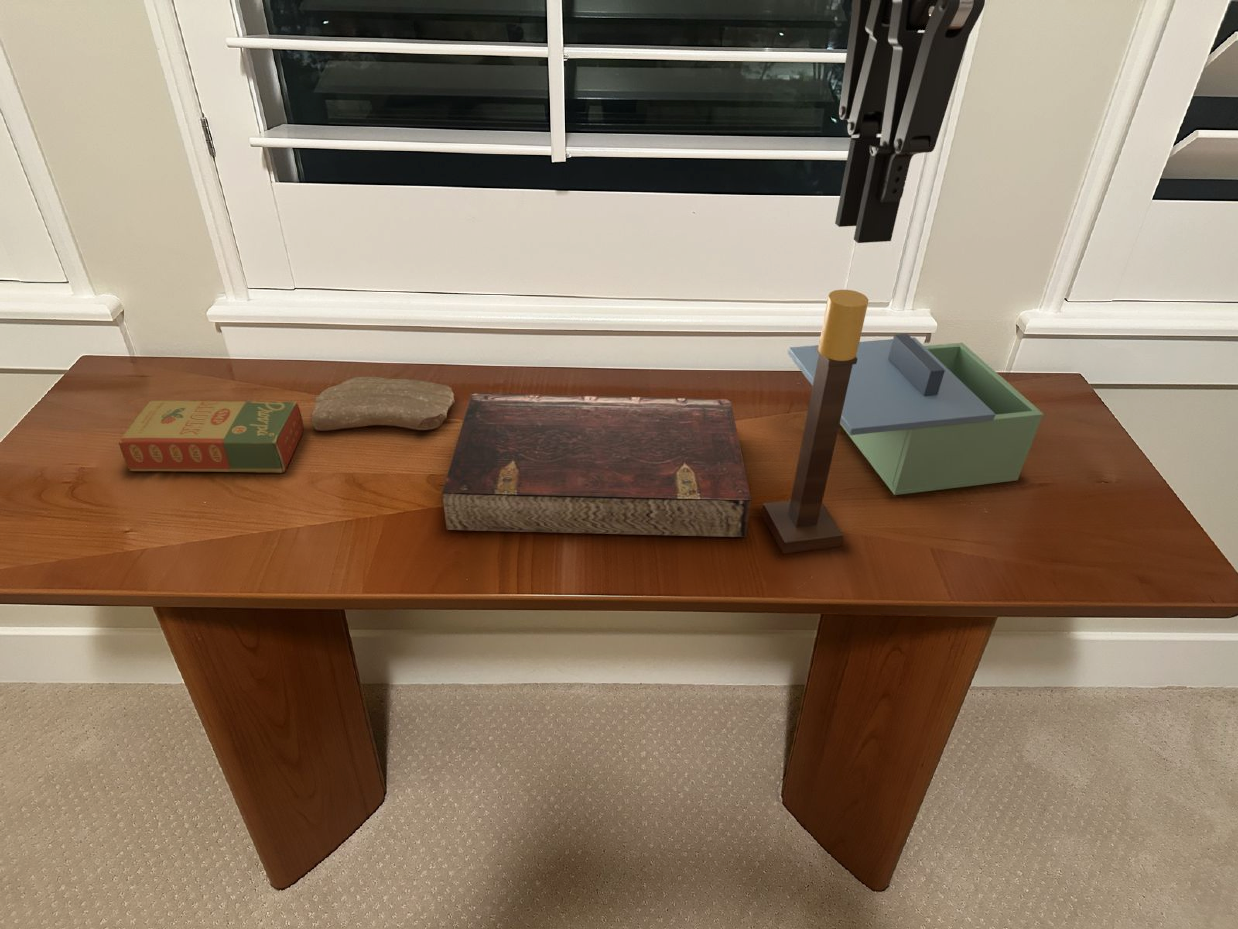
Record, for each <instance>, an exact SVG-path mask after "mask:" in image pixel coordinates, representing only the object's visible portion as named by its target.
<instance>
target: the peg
mask: <svg viewBox="0 0 1238 929" xmlns="http://www.w3.org/2000/svg"><path fill="white" fill-rule="evenodd" d="M826 302H827V303H826V306H825V311H824V315H823V322H822V328H821V332H820V338H819V342H818V345H819V347H818V350H819V353H820V354H821V355H823V356H824V357H826V358H828V359H832V360H836V361H847V360H851V359H853V358H855V357H856V355H857V350H858V346H859V342H861V336H862V332H863V328H864V323H865V318H866V314H867V310H868V305H869V298H868V296H866V295H865V294H863V293H862V292H859V291H856V290H852V289H837V290H833V291H830V292H829V293H828V296H827V301H826Z"/></svg>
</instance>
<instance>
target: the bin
mask: <svg viewBox="0 0 1238 929" xmlns="http://www.w3.org/2000/svg"><path fill="white" fill-rule="evenodd" d="M923 346H924V347H925V348H927V349H928V350H929V351H930V352H931V353H932V354H933V355H934V356H935V357H936V358H937V359H938V360H939V361H940V362H941V363H942V364H943V365H944V366H945V367H946V368H948V369H949V370H950V371H951V372H952V373H953V374H954V375H955V376H956V377H957V378H958V379H959V380H960V381H961V382H962V383H963V384H964V385H965V386H966V387H967V388H969V389H970V390H971V391H972V392H973V393H974V394H975V395H976V396H977V397H978V398H979V399H980V400H981V401H982V402H983V403H984V404H985V405H986V406H987V407H988V408H990V409H991V410H992V411H993V412H994V413H995V417H994V420H992V421H983V422H973V423H963V424H954V425H944V426H934V427H925V428H915V429H905V430H896V431H886V432H876V433H866V434H857V435H850V434H849V433H848V432H847V430H846V429H845V428H844V426H843V425H842V424H841V422H840V424H839V426H841V427H842V429H843V430H844V431H845V432H846V434H847V435H848V437H849V438H850V439H851V440H852V442H853V443H854V444H855V446H856V447H857V448H858V450H859V451H860V452H861V454H862V455H863V456H864V457H865V458H866V460H867V461H868V463H869V464H870V465H871V467H872V468H873V469H874V471H875V472H876V473H877V474H878V475H879V477H880V479H881V480H882V481H883V482H884V483H885V485H886V486H887V487H888V489H889V490H890V492H891V493H892V494H893V495H894V496H899V495H907V494H915V493H924V492H933V491H940V490H941V491H942V490H950V489H956V488H957V489H958V488H965V487H974V486H982V485H992V484H998V483H1007V482H1014V481H1018V480H1019V478H1020V475H1021V472H1022V470H1023V467H1024V465H1025V462H1026V459H1027V457H1028V454H1029V452H1030V449H1031V447H1032V445H1033V442H1034V439H1035V437H1036V435H1037V432H1038V429H1039V426H1040V424H1041V421H1042V420H1043V418H1044V417H1043V416H1044V413H1043V411H1040V409H1039V408H1037V407H1036V406H1035V405H1034V404H1033V403H1032V402H1031V401H1030V400H1029V399H1028V398H1026V397H1025V396H1024V395H1023V394H1022V393H1021V392H1019V391H1018V390H1017V389H1016V388H1015V387H1014V386H1013V385H1012V384H1010V382H1008V381H1007V380H1006V379H1005V378H1003V377H1002V376H1001V375H1000V374H999V373H998V372H997V371H995V370H994V369H993V368H992V367H991V366H990V365H989V364H988V363H986V362H985V361H984V360H983V359H982V358H980V357H979V355H977V354H976V353H975V352H974V351H972V350H971V348H969V347H968V346H967V345H966V344H965V343H963V342H954V343H942V344H931V345H929V344H927V345H923Z"/></svg>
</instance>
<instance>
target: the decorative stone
mask: <svg viewBox="0 0 1238 929" xmlns="http://www.w3.org/2000/svg"><path fill="white" fill-rule="evenodd" d="M454 394H455V393H454V392H453V390H452V387H451V386H449V385H446V384H442V383H437V382H431V381H425V380H416V379H411V378H403V379H400V378H394V379H393V378H383V377H379V376H356V377H352V378H350V379H348V380H344V381H343V382H341V383H339V384H337V385H334V386H330V387H328V388H325V389H324V390H323V391H322V392H320V394H319V395H318V396H317V397H315V405H314V409H313V411H312V412H311V419H310V420H311V423H312V426H313V428H314V430H316V431H319V432H320V431H324V432H325V431H335V430H336V431H337V430H341V429H343V430H344V429H352V428H353V429H354V428H360V427H361V428H362V427H368V426H389V427H390V426H391V427H392V426H393V427H400V428H406V429H410V430H417V431H429V430H434V429H438V428H439V427H441V425H443V423H444V421H445V420H446V419H447V417H448V411H449V410H450V409H451V407H452V406H453V405H454V404H455V395H454Z"/></svg>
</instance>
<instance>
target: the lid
mask: <svg viewBox="0 0 1238 929" xmlns="http://www.w3.org/2000/svg"><path fill="white" fill-rule="evenodd" d="M817 346H819V344H818V345H815V344H814V345H804V346H803V345H802V346H791V347H788V350H787V355H788V356H789V357H790V359H791V360H792V361H793V363H794V364H795V365H796V367H797V368H798V369H799V370H800V372H801V373H802V375H804V377H805V378H806V380H807V381H808V382H809V383H810V385H811V386H812V387H813V382H814V377H815V372H816V367H817V361H818V356H819V355H818V354H817V353H816V350H817ZM924 346H925V345H924V344H923V343H921V342H920V340H918V339H917V338H916V337H911V336H910V335H909V334H908V333H899V334H894V335H893V338H890V339H879V340H865V341H859V346H858V350H857V355H856V357H857V363H856V364H853V366H852V370H851V375H850V379H849V384H848V388H847V393H846V397H845V402H844V406H843V411H842V415H841V420H840V422H841V424H842V425H843V426H844V428H845V429H846V430H847V432H848V433H849V434H850V435H857V434H866V433H876V432H886V431H896V430H905V429H915V428H925V427H934V426H944V425H954V424H963V423H973V422H983V421H992V420H994V417H995V413H994V412H993V411H992V410H991V409H990V408H988V407H987V406H986V405H985V404H984V403H983V402H982V401H981V400H980V399H979V398H978V397H977V396H976V395H975V394H974V393H973V392H972V391H971V390H970V389H969V388H967V387H966V386H965V385H964V384H963V383H962V382H961V381H960V380H959V379H958V378H957V377H956V376H955V375H954V374H953V373H952V372H951V371H950V370H949V369H948V368H946V367H945V366H944V365H943V364H942V363H941V362H940V361H939V360H938V359H937V358H936V357H935V356H934V355H933V354H932V353H931V352H930V351H929V350H928V349H927V348H925V347H924ZM844 428H843V429H844ZM847 432H846V433H847Z"/></svg>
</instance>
